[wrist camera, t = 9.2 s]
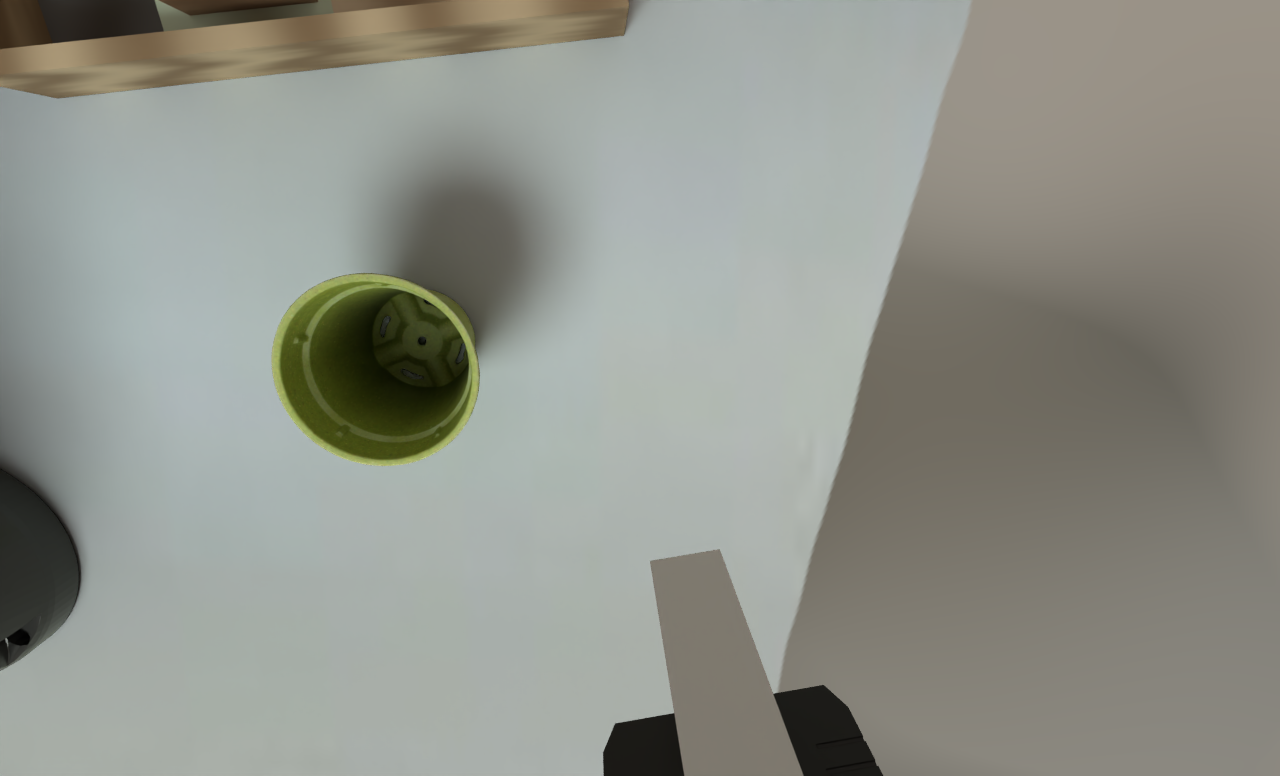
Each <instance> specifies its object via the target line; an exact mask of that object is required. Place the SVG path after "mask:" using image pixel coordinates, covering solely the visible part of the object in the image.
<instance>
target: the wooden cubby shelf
mask: <svg viewBox="0 0 1280 776" xmlns="http://www.w3.org/2000/svg"><path fill="white" fill-rule="evenodd" d="M628 9H629V1H628V0H318V2H315V3H305V4H296V5H286V6H277V7H267V8H258V9H248V10H239V11H229V12H220V13H210V14H201V15H191V16H190V15H188V14H186V13H184V12H182V11H180V10H178V9H175V8H173V7H171V6H169V5H167V4H165V3H163V2H161V1H159V0H0V87H5V88H10V89H15V90H20V91H24V92H29V93H34V94H39V95H44V96H49V97H53V98H65V97H74V96H83V95H92V94H101V93H110V92H119V91H128V90H137V89H146V88H155V87H164V86H173V85H182V84H191V83H200V82H209V81H218V80H227V79H236V78H245V77H254V76H263V75H272V74H281V73H290V72H299V71H309V70H318V69H327V68H336V67H345V66H354V65H363V64H372V63H381V62H390V61H399V60H408V59H417V58H426V57H435V56H444V55H453V54H462V53H471V52H480V51H489V50H498V49H507V48H516V47H525V46H534V45H543V44H552V43H561V42H570V41H579V40H588V39H597V38H606V37H615V36H624V32H625V27H626V21H627V15H628Z"/></svg>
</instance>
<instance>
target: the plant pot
mask: <svg viewBox="0 0 1280 776" xmlns="http://www.w3.org/2000/svg"><path fill="white" fill-rule="evenodd" d="M424 300H427V301H429V302H430V303H432V304H433V305H431V304H426V303H425V302H424ZM387 316H390V318H391V319H390V321H389V323H388V325H387V327H386V331H385V336H384V337H382V335H381V334H380V328H381V325H382V321H383V319H384V318H385V317H387ZM420 337H424V338H425V339H426V344H425V345H420V344H419V343H418V339H419V338H420ZM462 343H464V344H465V346H466V349H465V352H464V358H463V360H462V361H461V363H459V364H456V362H455V360H456V359H457V356H458V354H459V352H460V348H461V344H462ZM402 369H406V370H408V371H410V372H412V373H415V374H418V375H419V376H423V378H421V379H413V378H410V377H407V376H406V375H404V374H403V373H402V372H401V370H402ZM272 372H273V378H274V383H275V387H276V390H277V393H278V395H279V398H280V400H281V402H282V404H283V406H284V408H285V410H286V411H287V413H288V414H289V416H290V418H291V419H292V420H293V421H294V423H295V424H296V425H297V426H298V427H299V429H300V430H301V431H302V432H303V433H304V434H305V435H306V436H307V437H309V438H310V439H311V440H312V441H313V442H315V443H316V444H318V445H319V446H320V447H322V448H324V449H325V450H327V451H329V452H331V453H333V454H334V455H336V456H339V457H341V458H343V459H346V460H350V461H353V462H358V463H361V464H366V465H374V466H393V465H403V464H408V463H412V462H416V461H419V460H422V459H424V458H426V457H429V456H431V455H433V454H434V453H436V452H438V451H440V450H441V449H442V448H444V447H445V446H446V445H448V444H449V443H450V442H451V441H452V440H453V439H454V438H455V437H456V436H457V435H458V434H459V433H460V432H461V430H462V429H463V428H464V426H465V425H466V423H467V421H468V420H469V418H470V416H471V414H472V411H473V409H474V406H475V403H476V400H477V396H478V391H479V380H480V372H479V363H478V357H477V353H476V350H475V335H474V330H473V327H472V325H471V322H470V320H469V318H468V317H467V315H466V313H465V312H464V310H463V309H462V308H461V307H460V306H459V305H458V304H457V303H456V302H455V301H453V300H452V299H450V298H449V297H447V296H446V295H444V294H441V293H439V292H436V291H432V290H427V289H425V288H423V287H422V286H420V285H418V284H415V283H413V282H410V281H408V280H405V279H402V278H398V277H394V276H389V275H383V274H373V273H359V274H349V275H344V276H339V277H336V278H333V279H330V280H327V281H324V282H322V283H320V284H318V285H316V286H314V287H313V288H311V289H309V290H308V291H306V292H305V293H304V294H302V295H301V296H300V297H299V298H298V299H297V300H296V301H295V302H294V303H293V304H292V305H291V306H290V308H289V309H288V310H287V312H286V313H285V315H284V316H283V318H282V320H281V322H280V324H279V326H278V329H277V332H276V335H275V338H274V343H273V347H272Z"/></svg>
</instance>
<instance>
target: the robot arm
mask: <svg viewBox="0 0 1280 776" xmlns="http://www.w3.org/2000/svg"><path fill="white" fill-rule="evenodd" d="M650 564H651V570H652V576H653V583H654V589H655V595H656V601H657V608H658V614H659V620H660V626H661V633H662V639H663V645H664V651H665V658H666V664H667V670H668V676H669V683H670V689H671V695H672V701H673V708H674V713H673V714H667V715H661V716H656V717H650V718H644V719H639V720H633V721H627V722H622V723H616V724H615V725H614V728H613V730H612V733H611V735H610V737H609V740H608V742H607V745H606V747H605V750H604V752H603V764H604V776H883V774H882V773H881V770H880V769H879V767H878V766H877V765H876V763H875V759H874V757H873V755H872V753H871V751H870V749H869V747H868V745H867V743H866V741H864V739H863V735H862V733H861V731H860V729H859V727H858V725H857V724H856V722H855V720H854V718H853V716H852V714H851V712H850V710H849V708H848V707H847V706H846V705H845V704H844V703H843V702H842V701H841V700H840V699H839V698H837V697H836V696H835V695H834V694H833V693H832V692H831V691H830V690H829V689H827V688H826V687H825V686H824V685H821V686H815V687H810V688H804V689H798V690H792V691H787V692H781V693H775V694H773V692H772V689H771V687H770V684H769V681H768V679H767V676H766V673H765V670H764V668H763V665H762V662H761V660H760V657H759V654H758V652H757V649H756V646H755V643H754V641H753V638H752V635H751V633H750V630H749V627H748V625H747V622H746V619H745V616H744V614H743V611H742V608H741V606H740V603H739V600H738V598H737V595H736V592H735V589H734V587H733V584H732V581H731V579H730V576H729V573H728V571H727V568H726V565H725V562H724V560H723V557H722V554H721V552H720V549H718V550H713V551H707V552H701V553H695V554H689V555H683V556H677V557H671V558H665V559H659V560H653V561H650ZM78 583H79V573H78V564H77V560H76V555H75V552H74V549H73V546H72V544H71V541H70V539H69V537H68V535H67V533H66V531H65V530H64V528H63V526H62V525H61V523H60V522H59V520H58V519H57V517H56V516H55V515H54V514H53V512H52V511H51V510H50V509H49V508H48V506H47V505H46V504H45V503H44V502H43V501H42V500H41V499H40V498H39V497H38V496H37V495H36V494H34V493H33V492H32V491H31V490H30V489H29V488H27V487H26V486H25V485H23V484H22V483H21V482H19V481H18V480H16V479H15V478H13V477H12V476H10V475H8V474H7V473H5V472H3V471H2V470H0V671H1V670H3V669H5V668H7V667H8V666H10V665H12V664H14V663H15V662H17V661H19V660H20V659H22V658H23V657H24V656H26V655H27V654H28V653H30V652H31V651H32V650H33V649H35V648H36V647H37V646H39V645H40V644H41V643H42V642H44V641H45V640H46V639H47V638H49V637H50V636H51V635H52V634H54V633H55V632H56V631H57V630H58V629H59V628H60V627H61V625H62V624H63V623H64V622H65V620H66V619H67V617H68V616H69V614H70V612H71V610H72V608H73V605H74V603H75V600H76V596H77V591H78Z"/></svg>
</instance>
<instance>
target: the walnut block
mask: <svg viewBox="0 0 1280 776" xmlns="http://www.w3.org/2000/svg"><path fill="white" fill-rule="evenodd" d="M159 1H161V2H163V3H165V4H167V5H169V6H171V7H173V8H175V9H178V10H180V11H182V12H184V13H186V14H188V15H190V16H191V15H201V14H210V13H220V12H229V11H239V10H248V9H258V8H267V7H277V6H286V5H296V4H305V3H315V2H318V0H159Z"/></svg>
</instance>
